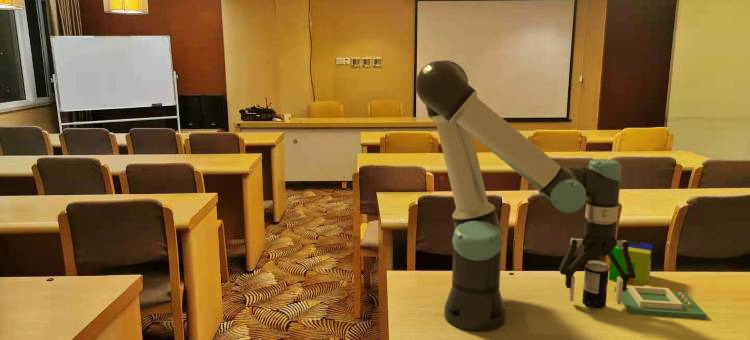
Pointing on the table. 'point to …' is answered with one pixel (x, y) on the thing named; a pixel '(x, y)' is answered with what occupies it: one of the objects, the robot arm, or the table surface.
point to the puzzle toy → (634, 262)
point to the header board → (660, 302)
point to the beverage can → (595, 284)
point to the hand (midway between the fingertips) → (594, 300)
